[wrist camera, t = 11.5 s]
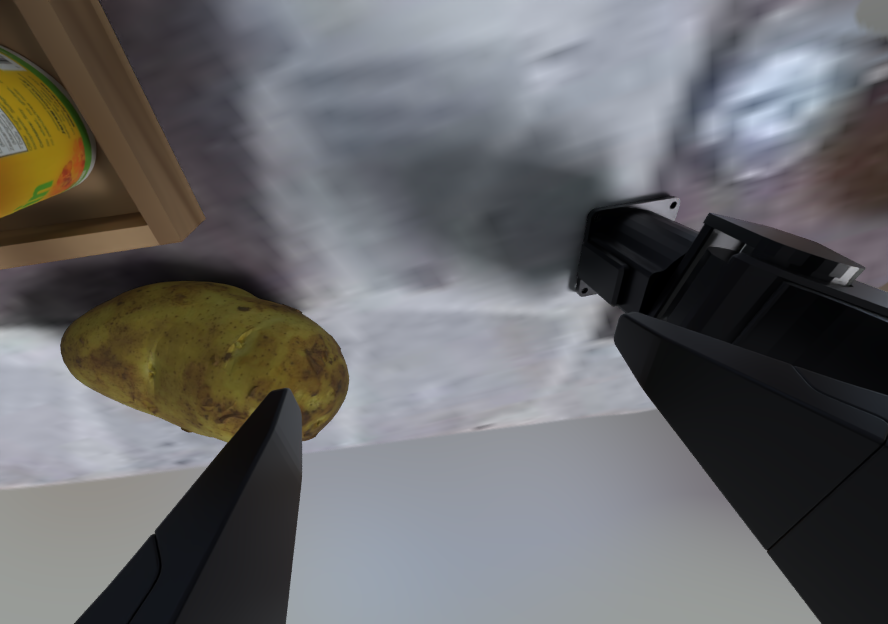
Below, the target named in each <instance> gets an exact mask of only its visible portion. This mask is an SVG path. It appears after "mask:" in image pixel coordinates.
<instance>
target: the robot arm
mask: <svg viewBox="0 0 888 624" xmlns="http://www.w3.org/2000/svg"><path fill="white" fill-rule="evenodd" d="M671 203H672V204H671ZM670 205H671V206H670ZM679 205H680V199H679V198H677V197H674V196H668V197H662V198H656V199H650V200H644V201H638V202H632V203H626V204H620V205H614V206H608V207H602V208H596V209H593V210H592V211H591V212H590V213H589V215H588V218H587V224H586V230H585V236H584V242H583V245H582V250H581V256H580V262H579V268H578V274H577V276H578V279H577V285H576V292H577V294H578V295H580V296H581V297H584V296H589V295H594V294H599V295H600V296H601V297H602V298H603V299H604V300H606V301H607V302H608V303H609V304H610V305H611V306H613V307H615V306H618V307H619V308H620V309H621V310H622V311H623V312H625V314H622V315H621V316H620V317H619V319H618V323H617V326H616V330H615V334H614V342H615V345H616V347H617V348H618V350H619V352H620V353H621V355H622V357H623V358H624V360H625V361H626V363H627V365H628V366H629V368H630V370H631V371H632V373H633V374H634V376H635V378H636V379H637V381H638V383H639V384H640V386H641V387H642V389H643V390H644V391H645V393H646V394H647V396H648V397H649V398H650V400H651V401H652V402H653V404H654V405H655V406H656V407H657V409H658V410H659V411H660V413H661V414H662V415H663V417H664V418H665V419H666V421H667V422H668V423H669V424H670V426H671V427H672V428H673V430H674V431H675V432H676V434H677V435H678V436H679V438H680V439H681V440H682V441H683V443H684V444H685V445H686V447H687V448H688V449H689V451H690V452H691V453H692V455H693V456H694V457H695V458H696V459H697V461H698V462H699V464H700V465H701V466H702V468H703V469H704V470H705V472H706V473H707V474H708V475H709V477H710V478H711V479H712V481H713V482H714V483H715V485H716V486H717V487H718V489H719V490H720V491H721V492H722V494H723V495H724V496H725V498H726V499H727V500H728V502H729V503H730V504H731V506H732V507H733V508H734V509H735V511H736V512H737V513H738V515H739V516H740V517H741V518H742V520H743V521H744V523H745V524H746V525H747V527H748V528H749V529H750V530H751V532H752V533H753V534H754V535H755V537H756V538H757V539H758V541H759V542H760V543H761V545H762V546H763V547H764V549H765V550H767V553H768V554H769V556H770V557H771V558H772V560H773V561H774V562H775V563H776V565H777V566H778V567H779V569H780V570H781V571H782V573H783V574H784V575H785V577H786V578H787V579H788V581H789V582H790V583H791V584H792V586H793V587H794V588H795V590H796V591H797V592H798V593H799V595H800V596H801V598H802V599H803V600H804V601H805V603H806V604H807V605H808V607H809V608H810V609H811V611H812V612H813V613H814V615H815V616H816V617H817V619H818V620H819V621H820V622H821V624H888V292H885V291H883V290H880V289H878V288H875V287H872V286H870V285H867V284H864V283H862V282H859V281H856V280H855V279H856V278H857V277H858V276H859V275H860V274H861V273H862V272H863V271H864V270H865V269H866V268H865V267H864V266H862V265H860V264H858V263H856V262H854V261H852V260H850V259H848V258H846V257H844V256H842V255H840V254H838V253H836V252H834V251H833V250H831V249H829V248H827V247H825V246H823V245H821V244H819V243H817V242H814V241H811V240H808V239H805V238H802V237H799V236H796V235H793V234H790V233H787V232H784V231H781V230H778V229H775V228H772V227H768V226H765V225H760V224H756V223H752V222H748V221H743V220H739V219H735V218H730V217H726V216H722V215H718V214H713V213H709V214H708V216H707V217H706V219H705V220H704V222H703V223H705V224H704V226H703V227H702V229H701V230H700V232H698V231H695V230H693V229H691V228H689V227H686V226H684V225H682V224H680V223H677V222H675V218H676V215H677V212H678V209H679ZM596 215H598V217H597V218H596V219H595V216H596ZM584 288H585V289H584ZM583 289H584V290H583ZM582 290H583V291H582ZM301 482H302V415H301V410H300V408H299V406H298V404H297V402H296V400H295V398H294V395H293V393H292V391H291V390H290V389H289V388H282V389H277V390H273V391H271V392H269V393H268V395H267V396H266V397H265V398H264V399H263V401H262V402H261V403H260V404H259V406H258V407H257V408H256V409H255V410H254V412H253V413H252V414H251V415H250V416H249V418H248V419H247V420H246V421H245V422H244V424H243V425H242V426H241V427H240V428H239V430H238V431H237V432H236V433H235V434H234V436H233V437H232V438H231V439H230V441H229V442H228V443H227V444H226V445H225V447H224V448H223V449H222V450H221V451H220V453H219V454H218V455H217V456H216V457H215V459H214V460H213V461H212V462H211V463H210V465H209V466H208V467H207V468H206V470H205V471H204V472H203V473H202V474H201V476H200V477H199V478H198V479H197V481H196V482H195V483H194V484H193V485H192V486H191V488H190V489H189V490H188V491H187V493H186V494H185V495H184V496H183V498H182V499H181V500H180V501H179V502H178V503H177V505H176V506H175V507H174V508H173V509H172V511H171V512H170V513H169V514H168V515H167V517H166V518H165V519H164V520H163V521H162V523H161V524H160V525H159V526H158V527H157V529H156V530H155V534H153V535H151V536H150V537H149V538H148V539H147V541H146V542H145V543H144V544H143V545H142V547H141V548H140V549H139V550H138V552H137V553H136V554H135V555H134V556H133V557H132V559H131V560H130V561H129V562H128V563H127V564H126V566H125V567H124V568H123V569H122V570H121V571H120V573H119V574H118V575H117V576H116V577H115V579H114V580H113V581H112V582H111V583H110V584H109V586H108V587H107V588H106V589H105V590H104V591H103V592H102V593H101V595H100V596H99V597H98V598H97V599H96V600H95V601H94V602H93V603H92V605H90V607H89V608H88V609H87V610H86V611H85V612H84V613H83V614H82V616H81V617H80V618H79V619H78V620H77V621H76V622H75V623H74V624H286V616H287V607H288V599H289V590H290V581H291V572H292V562H293V553H294V545H295V536H296V527H297V518H298V509H299V501H300V491H301Z"/></svg>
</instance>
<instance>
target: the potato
mask: <svg viewBox="0 0 888 624" xmlns="http://www.w3.org/2000/svg"><path fill="white" fill-rule="evenodd" d="M60 347H61V354H62V357H63V361H64V363H65V364H66V366H67V368H68V369H69V371H70V372H71V374H72V375H73V376H74V377H75V378H76V379H77V380H79V381H80V382H81V383H83V384H84V385H86V386H87V387H89V388H91V389H93V390H95V391H97V392H99V393H101V394H102V395H104V396H106V397H109V398H111V399H113V400H115V401H118V402H120V403H122V404H125V405H127V406H129V407H132V408H134V409H137V410H140V411H142V412H145V413H148V414H151V415H154V416H156V417H159V418H162V419H164V420H166V421H168V422H170V423H173V424H175V425H177V426H179V427H181V429H182V430H184V431H186V432H194V433H197V434H200V435H204V436H208V437H214V438H217V439H219V440H222V441H225V442H229V441H230V439H231V438H232V437H233V436H234V434H235V433H236V432H237V431H238V430H239V428H240V427H241V426H242V425H243V424H244V422H245V421H246V420H247V419H248V418H249V416H250V415H251V414H252V413H253V412H254V410H255V409H256V408H257V407H258V406H259V404H260V403H261V402H262V401H263V399H264V398H265V397H266V396H267V395H268V393H269V392H271V391H273V390H277V389H282V388H289V389H290V390H291V391H292V393H293V395H294V398H295V400H296V402H297V404H298V406H299V408H300V410H301V415H302V441H306V440H310V439H312V438H314V437H316V435H317V434H318V432H320V431H321V430H322V429H323V428H324V427H325V426H326V425H327V424H328V423H329V422H330V421H331V420H332V419H333V417H334V416H335V415H336V413H337V412H338V410H339V409H340V407H341V405H342V403H343V402H344V400H345V397H346V394H347V391H348V385H349V374H348V369H347V365H346V362H345V359H344V357H343V355H342V353H341V348H340V347H339V345H338V344H337V342H336V341H335V340H334V338H333V337H332V336H331V335H329V334H328V333H327V332H326V331H325V330H324V329H323V328H321V327H320V326H319V325H318V324H317V323H315V322H314V321H312V320H311V319H309V318H308V317H306V316H305V315H303V314H302V312H301V311H299V310H297V309H294V308H292V307H289V306H286V305H284V304H282V305H281V304H278V303H275V302H271V301H267V300H263V299H259V298H257V297H256V296H254V295H252V294H250V293H249V292H247V291H245V290H243V289H240V288H237V287H235V286H230V285H226V284H221V283H213V282H202V281H170V282H161V283H155V284H150V285H145V286H142V287H138V288H135V289H132V290H130V291H127V292H124V293H122V294H120V295H118V296H117V297H115V298H113V299H111V300H108V301H106V302H104V303H102V304H100V305H98V306H96V307H94V308H93V309H91V310H90V311H88V312H87V313H85V314H84V315H82V316H81V317H79V318H78V319H77V320H75V321H74V322H73V323H72V324H71V325H70V326H69V327H68V328H67V329H66V331H65V333H64V335H63V337H62V340H61V344H60Z"/></svg>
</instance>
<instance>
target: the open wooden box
mask: <svg viewBox="0 0 888 624" xmlns="http://www.w3.org/2000/svg"><path fill="white" fill-rule="evenodd" d="M0 45H1V46H3V47H5V48H7V49H10V50H12V51H14V52H16V53H18V54H19V55H21V56H23V57H25V58H26V59H28V60H30V61H31V62H33V63H34V64H36V65H37V66H39V67H40V68H41V69H43V70H44V71H45V72H47V73H48V74H49V75H50V76H52V77H53V78H54V79H55V80H56V81H57V82H59V83H60V84H61V85H62V86H63V87H64V88H65V90H66V91H67V92H68V93H69V94H70V96H71V97H72V99H73V101H74V102H75V104H76V106H77V107H78V109H79V111H80V112H81V114H82V116H83V117H84V119H85V121H86V122H87V124H88V126H89V127H90V129H91V131H92V132H93V134H94V137H95V142H96V160H95V164H94V167H93V169H92V171H91V173H90V174H89V175H88V177H87V178H86V179H85V180H84V181H83V182H81V183H80V184H79V185H77V186H75V187H73V188H71V189H69V190H67V191H65V192H62V193H60V194H57V195H55V196H52V197H50V198H47V199H45V200H43V201H40V202H38V203H35V204H33V205H30V206H28V207H25V208H23V209H21V210H18V211H16V212H14V213H12V214H9V215H6V216H4V217H1V218H0V270H1V269H7V268H14V267H20V266H27V265H33V264H40V263H46V262H53V261H59V260H66V259H72V258H79V257H86V256H92V255H99V254H105V253H112V252H118V251H125V250H131V249H138V248H144V247H151V246H157V245H164V244H170V243H177V242H182V241H183V240H184V239H185V238H186V237H187V236H188V235H189V234H190V233H191V232H192V231H193V230H194V229H195V228H196V227H197V226H198V225H200V224H201V223H202V222H203V221H204V220H205V219H206V218H205V216H204V214H203V212H202V210H201V208H200V206H199V204H198V202H197V200H196V198H195V196H194V194H193V192H192V190H191V188H190V186H189V184H188V182H187V180H186V178H185V176H184V174H183V172H182V170H181V168H180V166H179V164H178V161H177V159H176V157H175V155H174V153H173V151H172V149H171V147H170V145H169V143H168V141H167V139H166V137H165V135H164V133H163V131H162V129H161V127H160V125H159V123H158V121H157V119H156V117H155V115H154V113H153V111H152V109H151V106H150V104H149V102H148V100H147V98H146V96H145V94H144V92H143V90H142V88H141V86H140V84H139V82H138V80H137V78H136V76H135V74H134V72H133V70H132V68H131V66H130V64H129V62H128V60H127V58H126V56H125V54H124V52H123V49H122V47H121V45H120V43H119V41H118V39H117V37H116V35H115V33H114V31H113V29H112V27H111V25H110V23H109V21H108V19H107V17H106V15H105V13H104V11H103V9H102V7H101V5H100V3H99V1H98V0H0Z"/></svg>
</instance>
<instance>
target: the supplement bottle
mask: <svg viewBox="0 0 888 624" xmlns="http://www.w3.org/2000/svg"><path fill="white" fill-rule="evenodd" d="M95 160H96V142H95V137H94V134H93V132H92V131H91V129H90V127H89V126H88V124H87V122H86V121H85V119H84V117H83V116H82V114H81V112H80V111H79V109H78V107H77V106H76V104H75V102H74V101H73V99H72V97H71V96H70V94H69V93H68V92H67V91H66V90H65V88H64V87H63V86H62V85H61V84H60V83H59V82H57V81H56V80H55V79H54V78H53V77H52V76H50V75H49V74H48V73H47V72H45V71H44V70H43V69H41V68H40V67H39V66H37V65H36V64H34V63H33V62H31V61H30V60H28V59H26V58H25V57H23V56H21V55H19V54H18V53H16V52H14V51H12V50H10V49H7V48H5V47H3V46H1V45H0V218H1V217H4V216H6V215H9V214H12V213H14V212H16V211H18V210H21V209H23V208H25V207H28V206H30V205H33V204H35V203H38V202H40V201H43V200H45V199H47V198H50V197H52V196H55V195H57V194H60V193H62V192H65V191H67V190H69V189H71V188H73V187H75V186H77V185H79V184H80V183H81V182H83V181H84V180H85V179H86V178H87V177H88V175H89V174H90V173H91V171H92V169H93V167H94V164H95Z"/></svg>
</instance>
